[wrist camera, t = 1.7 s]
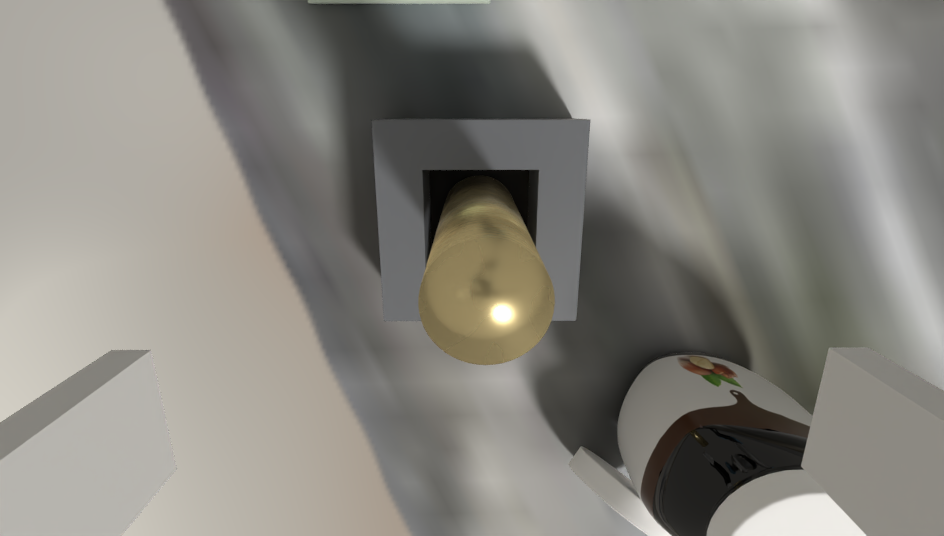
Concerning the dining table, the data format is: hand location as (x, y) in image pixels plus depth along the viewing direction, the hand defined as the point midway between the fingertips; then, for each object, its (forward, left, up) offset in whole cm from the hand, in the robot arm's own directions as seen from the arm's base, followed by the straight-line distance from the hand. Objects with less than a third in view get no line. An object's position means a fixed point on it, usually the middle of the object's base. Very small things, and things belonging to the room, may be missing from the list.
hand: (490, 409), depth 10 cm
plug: (0, 0, -19) cm, 19 cm away
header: (0, 0, -19) cm, 19 cm away
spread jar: (+14, +12, -19) cm, 26 cm away
